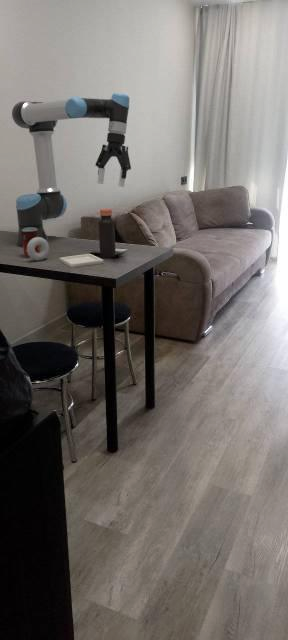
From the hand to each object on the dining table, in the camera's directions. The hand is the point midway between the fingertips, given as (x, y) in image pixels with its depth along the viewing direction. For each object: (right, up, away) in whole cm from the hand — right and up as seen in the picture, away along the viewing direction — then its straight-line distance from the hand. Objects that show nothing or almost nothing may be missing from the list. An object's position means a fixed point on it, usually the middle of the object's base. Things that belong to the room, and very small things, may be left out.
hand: (110, 185), depth 218 cm
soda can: (-35, -30, +5) cm, 46 cm away
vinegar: (-1, -31, +1) cm, 31 cm away
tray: (-12, -34, -8) cm, 37 cm away
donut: (-30, -33, -4) cm, 45 cm away
